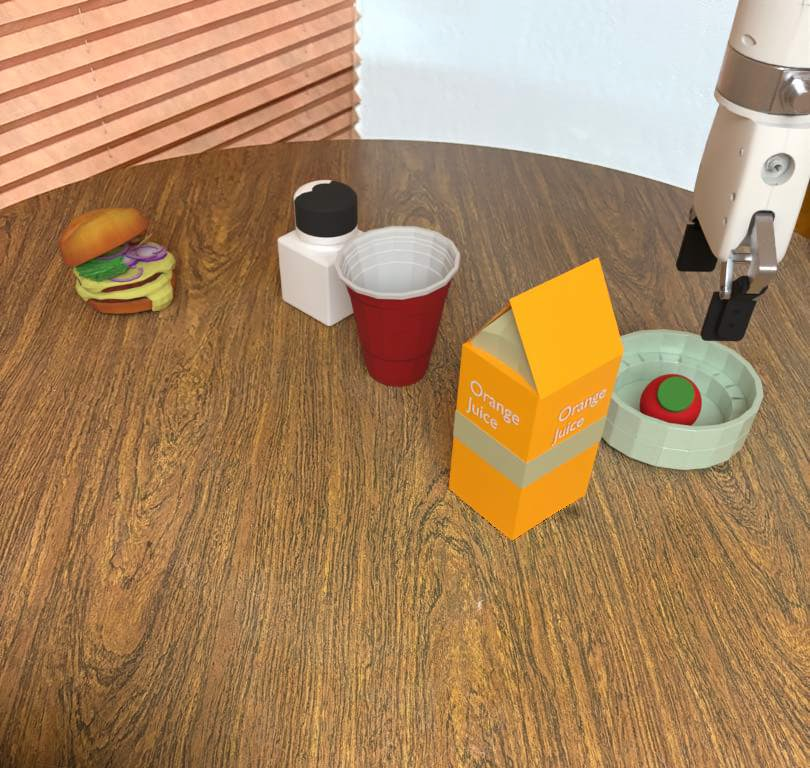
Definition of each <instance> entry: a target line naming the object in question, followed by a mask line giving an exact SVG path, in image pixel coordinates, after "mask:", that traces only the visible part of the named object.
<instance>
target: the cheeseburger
mask: <svg viewBox="0 0 810 768" xmlns="http://www.w3.org/2000/svg"><path fill="white" fill-rule="evenodd" d="M149 226H150V221H149V220H148V218H146V217H145V216H144V215H143V214H142V213H141V211H139V209H138V208H135V207H103V208H97V209H93V210H90V211H86V212H84V213H81V214H80V215H78V216H76V217H74V218H73V219H72V220H71V221H70V222H69V224H68V225H67V227H66V228H65V230H64V231H63V232H62V235H61V237H60V239H59V244H58V245H59V246H58V247H59V251H60V256H61V260H62V263H63V264H64V265H66V266H67V267H72V272H73V273H74V275H75V276H76V280H75V291H76V292H77V294H78V296H80V297H81V299H82V300H83V301H84V302H87V303H88V305H89V306H90V307H91V306H92V307H93V308H92V307H91V308H92V309H94V310H96V311H97V312H99V313H101V314H113V315H115V314H117V315H123V314H126V315H127V314H138V313H142V312H146V311H152V312H160V311H162V310H165V309H167V308H168V307H169V306H170V305H171V303H172V302H173V299H174V293H175V288H176V284H177V281H176V273H175V271H174V269H175V268H176V262H177V260H176V257H175V256H174V255H173V254H172V253H171V252H170V251H168V250H167V248H165V246H162V245H159V244H158V243H157V242H153V241H150V240H151V239H152V237H153V235H154V234H153V232H151V233H150V234H149V235H146V234H142V233H143V232H144V231H145V230H146V229H148V227H149ZM140 234H142V235H141V236H139V235H140Z"/></svg>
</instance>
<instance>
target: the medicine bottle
mask: <svg viewBox="0 0 810 768" xmlns="http://www.w3.org/2000/svg"><path fill="white" fill-rule="evenodd" d="M293 210H294V225H295V229H294V230H292V231H290V232H287V233H285V234H283V235H282V236H279V237H278V238H277V251H278V253H277V254H278V264H279V275H280V286H281V299H282V301H284V302H285V303H286V304H288V305H290V306H292V307H293V308H294V309H295V308H296V309H297V310H299V311H300V312H302V313H304V314H306V315H308V316H310V317H311V318H313V319H315V320H316V321H317V322H320V323H322V324H323V325H325V326H326V327H329V326H330V327H333V326H334V325H336V324H338V323H339V322H340V321H343V320H345V319H346V318H348V317H349V316H351V315H354V313H353V308H352V304H351V299H350V296H349V293H348V290H347V287H346V285H345V284H344V283H343V282H342V281H341V279H340V277H339V275H338V272H337V270H336V268H335V265H334V264H335V260H336V257H337V253H338V251H339V250H340V249H341V248H342V247H343V246H344V245H345V244H346V243H347V242H348V241H349V240H350V239H352V238H354V237H356V236H358V235H361V234H363V233H365V232H366V231H363V230H361V229H359V228H358V227H359V223H358V222H359V221H358V220H359V218H358V213H359V212H358V194H357V192H356V191H355V190H354V189H353V188H352V187H351V186H350V185H348V184H346V183H344V182H340V181H336V180H330V179H319V180H315V181H310V182H307V183H305V184H303V185H301V186H299V187H298V188H297V189H296V190H295V192H294V194H293Z"/></svg>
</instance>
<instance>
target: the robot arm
mask: <svg viewBox="0 0 810 768" xmlns="http://www.w3.org/2000/svg"><path fill="white" fill-rule="evenodd" d="M713 97H714V98H715V101H716V102H717V104H718V105H717V109H716V111H715V115H714V117H713V121H712V124H711V128H710V130H709V133H708V136H707V138H706V142H705V146H704V149H703V153H702V156H701V158H700V159H701V160H700V163H699V167H698V170H697V173H696V174H697V175H696V177H695V178H696V179H695V183H694V187H693V188H694V189H693V194H692V206H690V209H689V211H688V223H687V224H686V226H685V230H684V233H683V238H682V241H681V245H680V248H679V251H678V255H677V258H676V261H675V267H676V270H677V271H678V272H684V273H686V272H688V273H689V272H691V273H712V272H713V271H714V270H716V267H717V264H718V261H719V262H720V275H719V289H718V291H713V292H712V296H711V298H710V302H709V305H708V308H707V310H706V313H705V316H704V320H703V323H702V327H701V330H700V333H699V335H700V336H701V337H702V340H704V341H717V342H741V341H742V340H743V339H744V338H745V334H746V333H747V329H748V326H749V324H750V321H751V318H752V316H753V313H754V310H755V308H756V305H757V302H758V301H760V300H761V298H762V297H763V295H764V294H765V292H766V291H767V290H768V289H769V284H770V283H771V281H772V280H773V279H774V278H775V276H776V274H777V271H778V264H779V263H780V262H781V261H782V260H783V259H784V258H785V255H786V253H787V250H788V247H789V245H790V242H791V240H792V236H793V233H794V230H795V227H796V224H797V221H798V218H799V215H800V212H801V208H802V206H803V202H804V199H805V197H806V193H807V189H808V187H809V183H810V0H738V2H737V6H736V9H735V14H734V17H733V22H732V24H731V29H730V33H729V37H728V40H727V43H726V47H725V49H724V54H723V57H722V62H721V66H720V69H719V72H718V76H717V80H716V84H715V88H714V91H713ZM738 247H749V249H750V252H734V250H737V249H738ZM735 265H749V268H748V270H747V274H746V275H740V276H739V277H737V278H736V279H734V271H735V269H734V268H735Z"/></svg>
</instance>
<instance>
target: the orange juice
mask: <svg viewBox="0 0 810 768" xmlns="http://www.w3.org/2000/svg"><path fill="white" fill-rule="evenodd" d="M620 336H621V334H620V331H619V328H618V323H617V320H616V316H615V313H614V309H613V305H612V301H611V297H610V294H609V291H608V287H607V283H606V279H605V276H604V271H603V268H602V264H601V261H600V257H599V256H598V257H596V258H593V259H591V260H590V261H589V260H588V261H587V262H585V263H583V264H581V265H579V266H577V267H574V268H573V269H570V270H568V271H566V272H564V273H562V274H560V275H558V276H555V277H554V278H551V279H549V280H547V281H545V282H542V283H541V284H539V285H537V286H534V287H532V288H530V289H528V290H526V291H524V292H522V293H520V294H518V295H516V296H514V297H511V298H509V302H508V303H507V304H506V305H505V306H504V307H503V308H502V309H501V310H499V312H498V313H497V314H496V315H495V316H493V317H492V318H491V319H490V320H489V321H488V322H487V323H486V324H485V325H484V326H483V327H481V328H480V329H479V330H478V331H477V332H476V333H475V334H474V335H473V336H472V337H471V338H469V339H468V340H467V341H466V342H464V343H462V346H461V356H460V367H459V376H458V386H457V387H458V388H457V398H456V407H455V408H456V409H455V411H454V421H453V431H452V436H453V440H452V449H451V450H452V451H451V460H450V461H451V462H450V469H449V470H450V471H449V481H448V490H449V489H450V490H451V491H453V493H455V494H456V495H457V496H459V497H460V498H461V499H462V500H463V501H464V502H466V503H467V504H468V505H470V506H471V507H472V508H473V509H474V510H475V511H477V512H478V513H479V514H480V515H481V516H483V517H484V518H485V519H486V520H488V522H490V523H491V524H492V525H494V527H496V528H497V529H498V530H500V531H501V532H502V533H504V535H506V536H507V537H508V538H510V540H514V539H515V538H517V537H519V536H520V535H523V533H525V532H527V531H528V530H530V529H531V528H533V527H534V526H536V525H537V524H539V523H540V522H542V521H543V520H545V519H546V518H549V517H550V516H552V515H553V514H555V513H556V512H558V511H559V512H558V513H560V512H561V511H563V510H564V509H566V508H567V507H569V506H570V505H572V504H573V503H575V502H577V501H578V500H580V499H581V498H583V497H584V496H586V495H587V490H588V487H589V484H590V481H591V480H590V479H591V475H592V472H593V468H594V464H595V460H596V457H597V453H598V450H599V446H600V441H601V440H602V433H603V430H604V426H605V422H606V418H607V412H608V408H609V404H610V400H611V397H612V393H613V389H614V385H615V382H616V378H617V374H618V370H619V366H620V363H621V359H622V355H623V353H624V349H623V345H622V342H621V338H620ZM450 493H451V494H452V495H454V494H453V493H452V492H450ZM456 498H457V499H458V500H460V499H459V498H458V497H456ZM577 499H578V500H577ZM574 501H575V502H574ZM464 502H462V503H463V504H464V505H466V504H465V503H464ZM569 504H570V505H569ZM566 506H567V507H566ZM468 508H469V509H470V510H472V509H471V508H470V507H468ZM563 508H564V509H563ZM561 509H562V510H561ZM560 510H561V511H560ZM474 513H475V514H476V515H478V514H477V513H476V512H474ZM558 513H556V514H555V515H557V514H558ZM555 515H553V516H552V517H554V516H555ZM481 516H479V517H480V518H481V519H482V520H484V519H483V518H482V517H481ZM552 517H550V518H549V519H551V518H552ZM549 519H547V520H545V521H544V522H546V521H548V520H549ZM485 522H486V523H487V524H488V525H490V524H489V523H488V522H487V521H485ZM544 522H542V523H544ZM542 523H541V524H542ZM541 524H539V525H538V526H540V525H541ZM538 526H536V527H535V528H537V527H538ZM491 527H492V528H493V529H495V528H494V527H493V526H491ZM535 528H533V529H532V530H534V529H535ZM532 530H530V531H529V532H531V531H532ZM497 532H498V533H499V534H501V533H500V532H499V531H497ZM529 532H527V533H526V534H528V533H529ZM526 534H524V535H523V536H525V535H526ZM503 537H504V538H505V539H507V538H506V537H505V536H503ZM520 538H521V537H519V538H518V539H520ZM518 539H516V540H515V541H517V540H518ZM515 541H513V542H511V541H509V542H510V543H512V544H513V543H514V542H515Z"/></svg>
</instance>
